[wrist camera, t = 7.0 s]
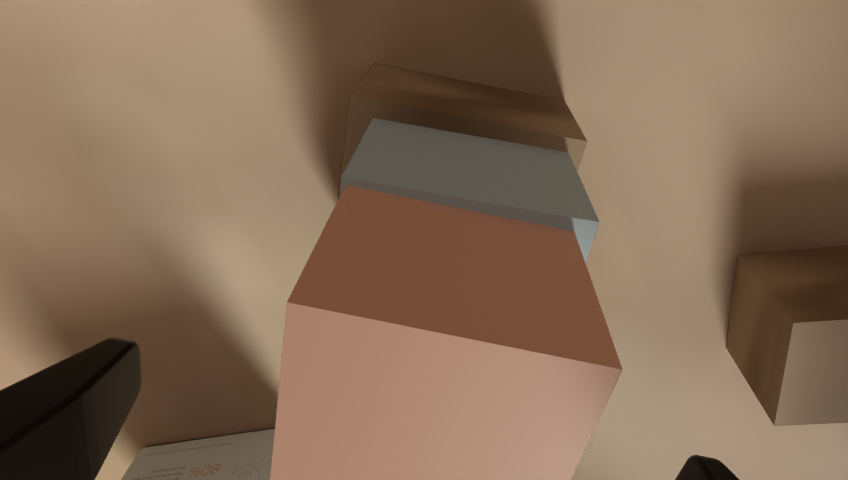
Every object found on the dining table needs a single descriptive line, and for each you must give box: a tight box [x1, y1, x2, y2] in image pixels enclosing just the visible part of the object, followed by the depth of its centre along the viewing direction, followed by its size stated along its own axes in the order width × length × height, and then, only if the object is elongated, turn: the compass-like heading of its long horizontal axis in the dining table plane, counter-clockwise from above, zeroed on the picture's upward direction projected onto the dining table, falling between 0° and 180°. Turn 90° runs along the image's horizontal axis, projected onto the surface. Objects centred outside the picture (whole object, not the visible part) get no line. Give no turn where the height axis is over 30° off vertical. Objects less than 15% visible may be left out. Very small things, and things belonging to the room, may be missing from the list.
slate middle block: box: [340, 118, 599, 263], centre depth 14 cm, size 5×5×4 cm
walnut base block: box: [338, 63, 587, 199], centre depth 17 cm, size 6×6×4 cm
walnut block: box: [726, 246, 848, 426], centre depth 19 cm, size 4×4×4 cm
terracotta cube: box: [270, 185, 622, 480], centre depth 10 cm, size 4×4×4 cm
